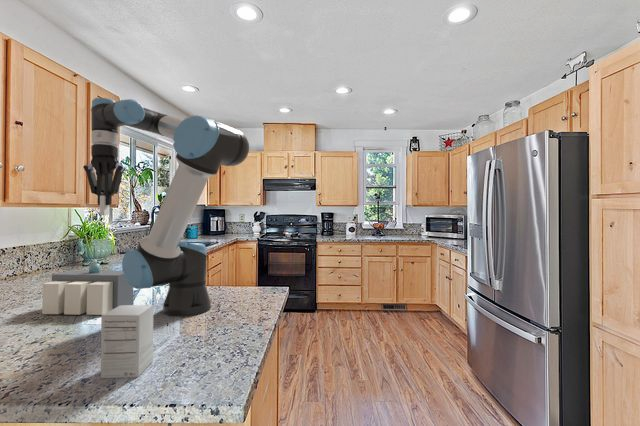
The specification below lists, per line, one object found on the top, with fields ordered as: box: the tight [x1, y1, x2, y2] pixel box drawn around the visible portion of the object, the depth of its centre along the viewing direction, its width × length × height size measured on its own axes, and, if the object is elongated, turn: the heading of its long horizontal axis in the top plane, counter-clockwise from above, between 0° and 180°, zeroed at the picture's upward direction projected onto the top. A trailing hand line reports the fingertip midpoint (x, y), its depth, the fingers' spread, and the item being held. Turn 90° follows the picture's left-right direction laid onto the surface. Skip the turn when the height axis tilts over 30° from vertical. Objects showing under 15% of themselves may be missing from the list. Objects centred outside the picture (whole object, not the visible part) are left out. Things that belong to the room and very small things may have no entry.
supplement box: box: [100, 304, 154, 379], centre depth 68 cm, size 7×7×13 cm
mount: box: [51, 269, 134, 316], centre depth 110 cm, size 22×14×12 cm, turn 90°
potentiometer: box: [88, 259, 101, 273], centre depth 112 cm, size 3×3×4 cm
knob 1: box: [41, 281, 71, 315], centre depth 109 cm, size 5×13×10 cm, turn 0°
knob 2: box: [86, 281, 113, 316], centre depth 109 cm, size 5×13×10 cm, turn 0°
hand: (104, 214), depth 110 cm, fingers closed
